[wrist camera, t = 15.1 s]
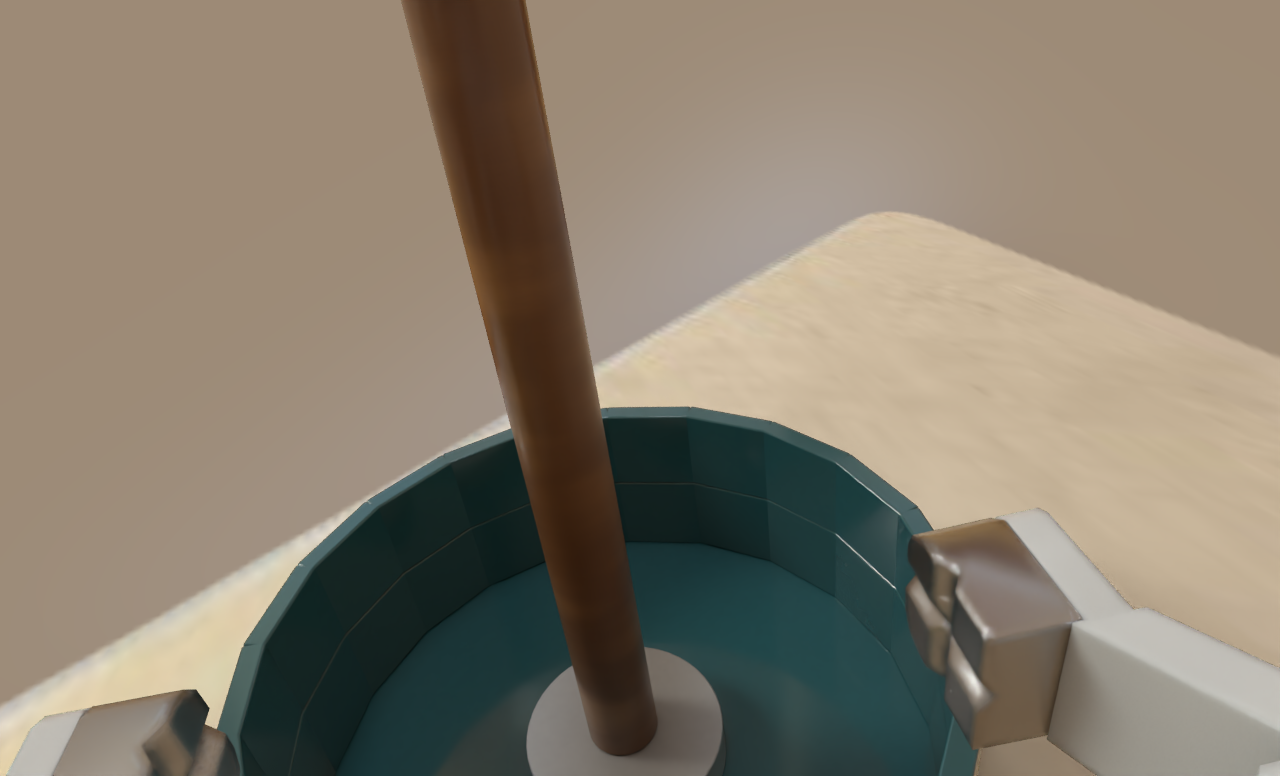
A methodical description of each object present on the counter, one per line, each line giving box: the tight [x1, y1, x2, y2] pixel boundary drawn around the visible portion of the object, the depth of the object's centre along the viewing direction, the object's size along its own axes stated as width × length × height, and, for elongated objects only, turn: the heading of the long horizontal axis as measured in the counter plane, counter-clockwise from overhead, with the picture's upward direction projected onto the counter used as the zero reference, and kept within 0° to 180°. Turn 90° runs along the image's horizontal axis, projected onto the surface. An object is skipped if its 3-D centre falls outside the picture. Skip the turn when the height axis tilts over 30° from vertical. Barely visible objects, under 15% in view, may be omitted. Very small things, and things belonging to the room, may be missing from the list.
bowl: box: [217, 407, 982, 776], centre depth 22 cm, size 17×17×6 cm
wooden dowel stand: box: [401, 0, 726, 776], centre depth 18 cm, size 5×5×19 cm
